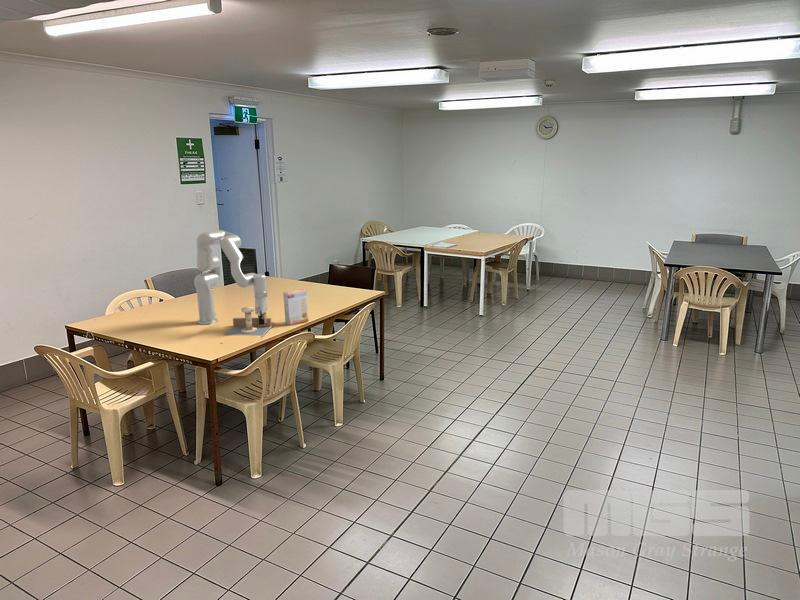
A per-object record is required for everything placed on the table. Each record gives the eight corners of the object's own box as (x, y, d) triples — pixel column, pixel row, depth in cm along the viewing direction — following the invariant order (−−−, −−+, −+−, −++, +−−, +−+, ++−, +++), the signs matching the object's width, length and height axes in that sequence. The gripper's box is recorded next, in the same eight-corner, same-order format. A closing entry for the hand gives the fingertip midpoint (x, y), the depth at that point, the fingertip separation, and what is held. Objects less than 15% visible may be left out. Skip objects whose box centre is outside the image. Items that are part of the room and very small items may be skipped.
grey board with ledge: (234, 327, 335) (234, 317, 333) (271, 328, 334) (270, 317, 332) (223, 337, 316) (222, 326, 314) (262, 337, 314) (261, 327, 313)
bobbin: (244, 329, 327) (242, 306, 324) (259, 329, 326) (257, 306, 323) (239, 333, 318) (237, 310, 315) (254, 333, 318) (252, 310, 314)
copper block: (260, 323, 334) (259, 312, 333) (267, 323, 334) (266, 312, 333) (258, 325, 331) (257, 314, 329) (265, 325, 330) (264, 314, 329)
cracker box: (303, 319, 352) (302, 288, 347) (308, 321, 347) (307, 290, 342) (284, 323, 343) (282, 291, 338) (289, 325, 338) (287, 293, 333)
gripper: (258, 291, 336) (260, 319, 340) (250, 297, 320) (252, 327, 324) (270, 291, 336) (272, 320, 340) (262, 298, 320) (264, 327, 324)
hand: (262, 323), depth 332 cm, fingers closed on copper block, 4 cm apart
